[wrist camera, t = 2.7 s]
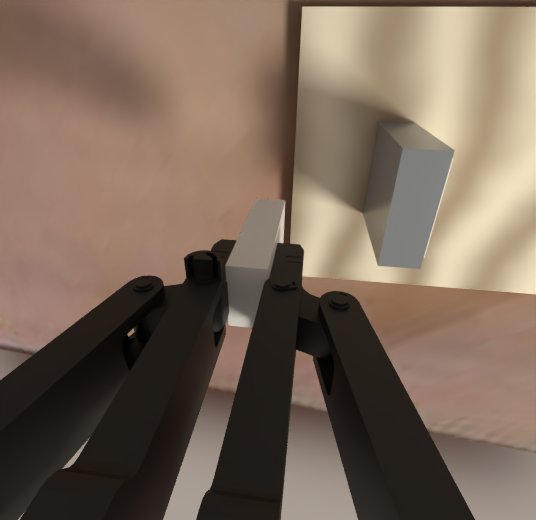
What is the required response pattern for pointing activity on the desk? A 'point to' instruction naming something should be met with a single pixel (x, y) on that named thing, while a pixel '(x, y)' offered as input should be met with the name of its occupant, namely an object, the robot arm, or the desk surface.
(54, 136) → the desk surface
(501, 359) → the desk surface
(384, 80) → the board
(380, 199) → the tile
